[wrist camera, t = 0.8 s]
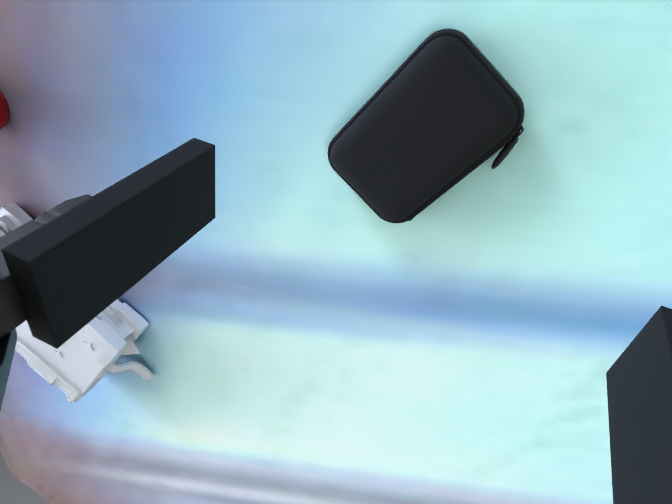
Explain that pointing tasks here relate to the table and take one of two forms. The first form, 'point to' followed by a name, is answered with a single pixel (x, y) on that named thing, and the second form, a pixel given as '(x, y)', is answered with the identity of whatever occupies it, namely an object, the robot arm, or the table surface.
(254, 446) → the table surface
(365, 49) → the table surface
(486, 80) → the carrying case
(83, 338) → the white irregular flat block
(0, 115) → the plastic cup
